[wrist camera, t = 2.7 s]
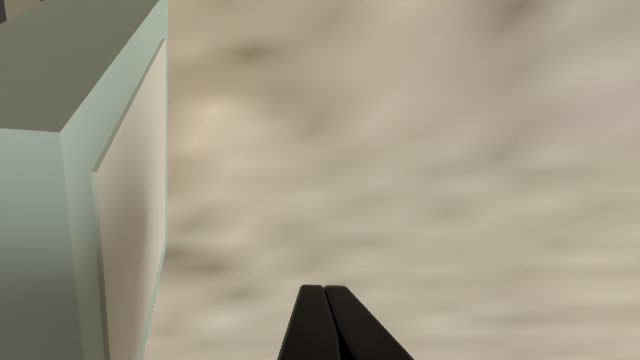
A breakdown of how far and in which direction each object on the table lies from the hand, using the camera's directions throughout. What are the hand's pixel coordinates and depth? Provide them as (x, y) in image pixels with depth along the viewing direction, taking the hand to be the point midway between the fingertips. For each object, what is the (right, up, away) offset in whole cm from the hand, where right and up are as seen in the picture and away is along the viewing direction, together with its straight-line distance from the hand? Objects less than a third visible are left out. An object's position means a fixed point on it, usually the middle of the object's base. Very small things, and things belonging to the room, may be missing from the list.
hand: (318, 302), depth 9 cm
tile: (-5, +4, +5) cm, 8 cm away
